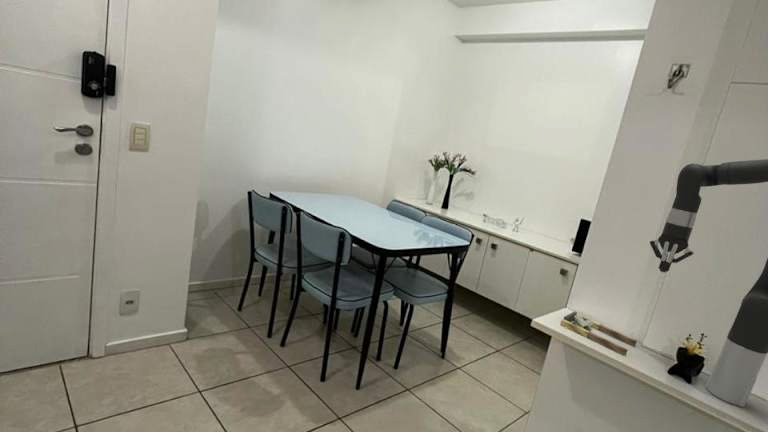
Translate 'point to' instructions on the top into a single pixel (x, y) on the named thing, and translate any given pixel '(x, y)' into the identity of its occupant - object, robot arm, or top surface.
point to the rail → (567, 323)
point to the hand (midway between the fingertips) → (662, 271)
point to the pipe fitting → (583, 322)
